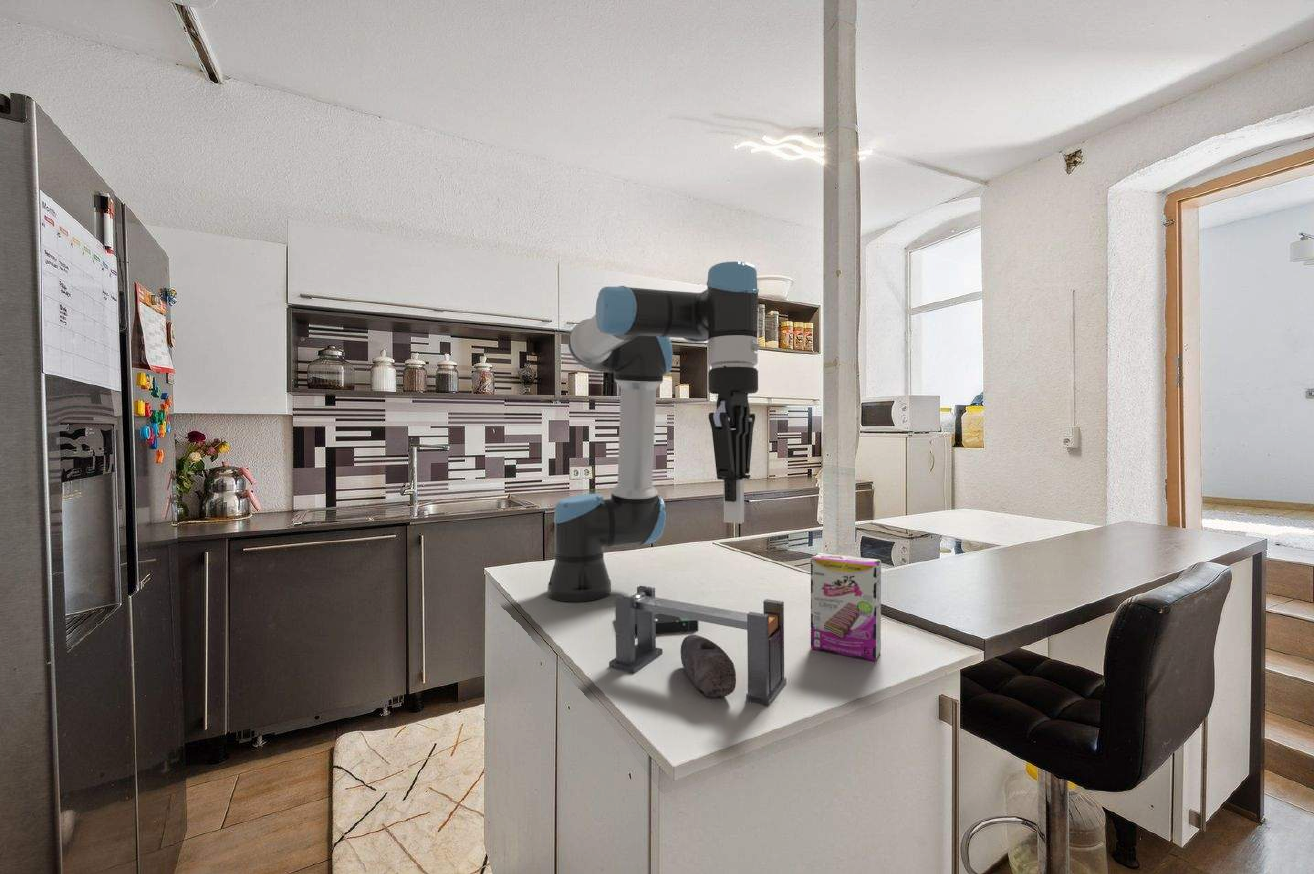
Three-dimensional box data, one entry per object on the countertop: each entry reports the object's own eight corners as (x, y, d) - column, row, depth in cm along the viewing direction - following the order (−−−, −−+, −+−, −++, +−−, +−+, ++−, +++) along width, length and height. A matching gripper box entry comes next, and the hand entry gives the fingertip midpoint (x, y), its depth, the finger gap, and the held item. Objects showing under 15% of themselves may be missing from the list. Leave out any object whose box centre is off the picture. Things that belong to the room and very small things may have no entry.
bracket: (638, 647, 98) (637, 584, 98) (662, 653, 96) (661, 587, 96) (609, 666, 91) (608, 597, 91) (634, 673, 88) (633, 601, 88)
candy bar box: (809, 650, 97) (809, 557, 97) (817, 640, 101) (816, 551, 101) (877, 663, 91) (876, 564, 91) (882, 652, 95) (881, 558, 95)
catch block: (764, 678, 86) (764, 598, 86) (786, 683, 84) (785, 601, 84) (745, 700, 79) (745, 613, 79) (768, 705, 77) (768, 617, 77)
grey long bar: (638, 602, 96) (637, 590, 96) (777, 628, 83) (777, 613, 83) (622, 610, 92) (622, 597, 92) (767, 638, 79) (767, 623, 79)
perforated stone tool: (671, 665, 91) (670, 624, 91) (701, 661, 93) (700, 620, 93) (705, 709, 77) (704, 660, 77) (739, 703, 78) (739, 655, 78)
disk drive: (623, 640, 104) (699, 633, 107) (623, 625, 104) (699, 619, 107) (618, 621, 114) (687, 615, 117) (617, 607, 114) (687, 602, 117)
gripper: (739, 361, 76) (740, 531, 76) (770, 369, 87) (771, 517, 88) (691, 365, 80) (692, 526, 80) (727, 372, 91) (728, 514, 91)
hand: (733, 521), depth 84 cm, fingers closed
